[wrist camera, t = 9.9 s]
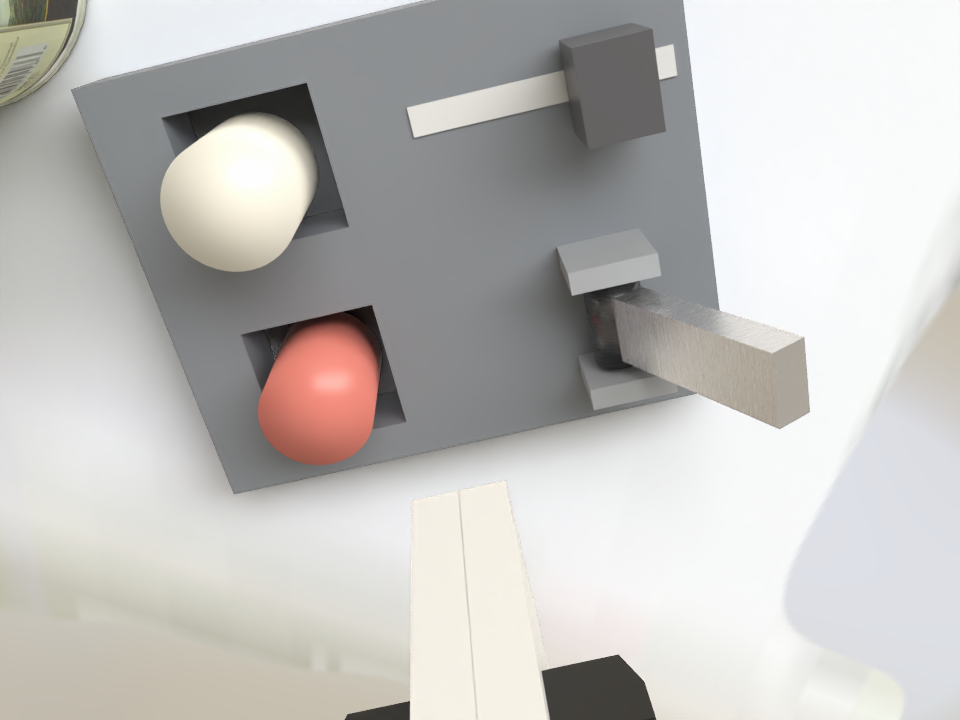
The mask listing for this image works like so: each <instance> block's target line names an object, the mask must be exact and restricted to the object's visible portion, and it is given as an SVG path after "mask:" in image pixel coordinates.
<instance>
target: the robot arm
mask: <svg viewBox="0 0 960 720" xmlns="http://www.w3.org/2000/svg"><path fill="white" fill-rule="evenodd" d="M345 720H656V717H655V714H654V711H653V708H652V705H651V701H650V698H649V695H648V692H647V689H646V686H645V683H644V681H643V680H642V679H641V678H640V677H639V676H638V675H637V674H636V673H635V672H634V670H633V669H632V668H631V667H630V666H629V665H628V664H627V663H626V662H625V661H624V660H623V659H622V658H621V657H620V656H619V655H614V656H609V657H605V658H600V659H595V660H590V661H586V662H581V663H576V664H572V665H567V666H562V667H557V668H553V669H548V670H547V664H546V659H545V653H544V648H543V643H542V637H541V632H540V627H539V621H538V616H537V611H536V607H535V603H534V599H533V594H532V590H531V586H530V582H529V577H528V573H527V569H526V565H525V560H524V556H523V552H522V548H521V543H520V539H519V535H518V531H517V526H516V522H515V518H514V514H513V509H512V505H511V501H510V497H509V492H508V488H507V484H506V480H505V481H500V482H495V483H491V484H486V485H482V486H477V487H472V488H468V489H463V490H459V491H454V492H449V493H445V494H440V495H436V496H431V497H426V498H422V499H417V500H413V501H412V531H411V653H410V701H408V702H404V703H399V704H394V705H390V706H385V707H380V708H375V709H371V710H366V711H361V712H356V713H352V714H348V715H347V717H346V718H345Z"/></svg>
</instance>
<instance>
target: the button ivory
mask: <svg viewBox="0 0 960 720" xmlns="http://www.w3.org/2000/svg"><path fill="white" fill-rule="evenodd" d="M318 181H319V170H318V163H317V159H316V156H315V153H314V150H313V148H312V147H311V145H310V143H309V141H308V140H307V139H306V137H305V136H304V135H303V134H302V133H301V131H300V130H298V129H297V128H296V127H295V126H294V125H293V124H291V123H290V122H288V121H286V120H285V119H283V118H281V117H278V116H276V115H273V114H269V113H264V112H246V113H241V114H238V115H235V116H233V117H230V118H228V119H227V120H225V121H224V122H222V123H221V124H219V125H218V126H217V127H215V128H214V129H213V130H211V131H210V132H209V133H207V134H206V135H204V136H203V137H202V138H200V139H199V140H198V141H196V142H195V143H194V144H192V145H191V146H189V147H188V148H187V149H185V150H184V151H183V152H182V153H180V154H179V155H178V156H177V157H176V158H175V159H174V161H173V162H172V163H171V164H170V166H169V168H168V169H167V171H166V173H165V176H164V178H163V182H162V186H161V193H160V204H161V211H162V215H163V218H164V222H165V224H166V226H167V228H168V231H169V232H170V234H171V236H172V237H173V239H174V240H175V241H176V243H177V244H178V245H179V246H180V247H181V248H182V249H183V250H184V251H185V252H186V253H187V254H188V255H190V256H191V257H192V258H194V259H195V260H197V261H199V262H200V263H202V264H204V265H207V266H209V267H212V268H215V269H218V270H223V271H231V272H243V271H249V270H254V269H257V268H260V267H262V266H265V265H267V264H268V263H270V262H272V261H273V260H275V259H276V258H277V257H278V256H279V255H281V253H282V252H283V251H284V250H285V249H286V248H287V246H288V245H289V243H290V242H291V240H292V238H293V236H294V234H295V232H296V230H297V228H298V227H299V225H300V223H301V221H302V219H303V217H304V215H305V213H306V211H307V210H308V208H309V206H310V204H311V202H312V200H313V198H314V196H315V193H316V190H317V186H318Z"/></svg>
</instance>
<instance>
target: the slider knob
mask: <svg viewBox="0 0 960 720" xmlns="http://www.w3.org/2000/svg"><path fill="white" fill-rule="evenodd" d="M558 41H559V47H560V52H561V58H562V64H563V69H564V75H565V81H566V86H567V92H568V98H569V103H570V109H571V115H572V121H573V126H574V132H575V134H576V135H577V136H578V137H579V139H580V140H581V141H582V142H583V143H584V145H585V146H586V147H587V148H588V150H589V149H594V148H598V147H602V146H607V145H611V144H615V143H619V142H624V141H628V140H632V139H637V138H641V137H645V136H649V135H654V134H658V133H662V132H666V127H665V119H664V112H663V104H662V97H661V89H660V82H659V74H658V67H657V59H656V52H655V44H654V37H653V29H651V28H648V27H645V26H641V25H638V24H635V23H628V24H624V25H620V26H615V27H611V28H607V29H603V30H599V31H595V32H590V33H586V34H582V35H578V36H574V37H570V38H565V39H561V40H558Z"/></svg>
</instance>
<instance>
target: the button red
mask: <svg viewBox="0 0 960 720" xmlns="http://www.w3.org/2000/svg"><path fill="white" fill-rule="evenodd" d="M381 365H382V352H381V348H380V344H379V342H378V340H377V338H376V336H375V334H374V333H373V332H372V330H371V329H370V328H369V327H368V326H367V325H366V324H365V323H364V322H362V321H361V320H359V319H358V318H356V317H354V316H352V315H350V314H347V313H344V312H338V313H334V314H330V315H325V316H321V317H316V318H312V319H308V320H303V321H299V322H296V323H295V324H294V325H293V326H292V327H291V328H290V329H289V331H288V332H287V334H286V336H285V338H284V340H283V343H282V345H281V348H280V350H279V352H278V355H277V357H276V360H275V362H274V365H273V367H272V370H271V372H270V374H269V377H268V379H267V382H266V384H265V387H264V389H263V392H262V394H261V397H260V400H259V405H258V418H259V423H260V427H261V429H262V431H263V434H264V435H265V437H266V438H267V440H268V441H269V442H270V444H271V445H272V446H273V447H274V448H275V449H276V450H277V451H279V452H280V453H282V454H283V455H285V456H286V457H288V458H290V459H292V460H295V461H297V462H301V463H305V464H310V465H327V464H333V463H337V462H340V461H342V460H345V459H347V458H349V457H350V456H352V455H353V454H355V453H356V452H357V451H358V450H359V449H360V448H361V447H362V446H363V445H364V444H365V443H366V441H367V439H368V438H369V436H370V433H371V431H372V427H373V422H374V415H375V408H376V400H377V393H378V386H379V379H380V372H381Z"/></svg>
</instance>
